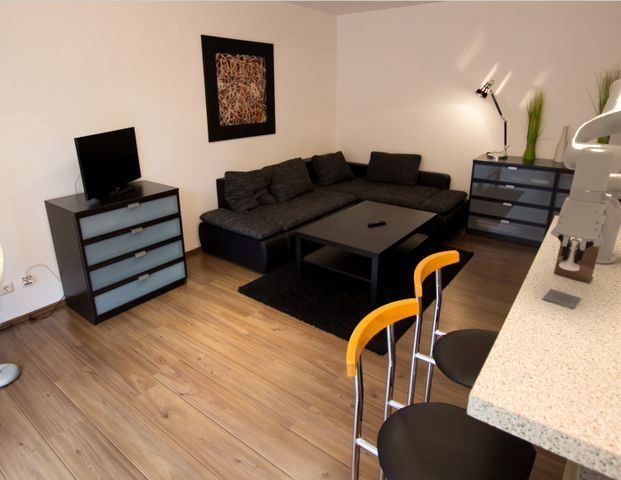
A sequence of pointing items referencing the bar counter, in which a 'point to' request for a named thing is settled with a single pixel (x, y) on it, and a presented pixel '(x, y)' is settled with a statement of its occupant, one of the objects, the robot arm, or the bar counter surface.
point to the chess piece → (571, 258)
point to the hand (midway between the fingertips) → (570, 260)
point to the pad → (562, 299)
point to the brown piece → (585, 264)
